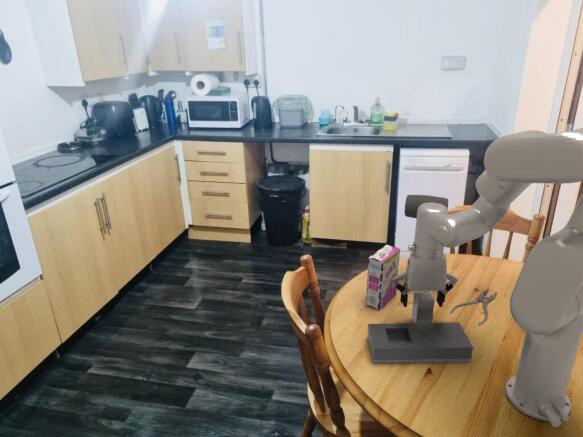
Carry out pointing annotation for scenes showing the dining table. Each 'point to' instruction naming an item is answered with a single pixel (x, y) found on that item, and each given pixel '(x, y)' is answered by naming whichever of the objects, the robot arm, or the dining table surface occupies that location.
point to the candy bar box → (382, 276)
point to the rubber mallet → (417, 200)
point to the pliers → (479, 299)
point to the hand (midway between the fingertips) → (421, 304)
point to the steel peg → (422, 307)
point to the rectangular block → (419, 343)
